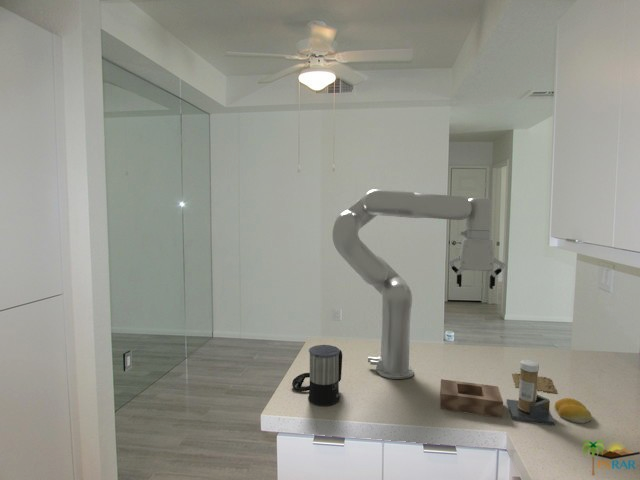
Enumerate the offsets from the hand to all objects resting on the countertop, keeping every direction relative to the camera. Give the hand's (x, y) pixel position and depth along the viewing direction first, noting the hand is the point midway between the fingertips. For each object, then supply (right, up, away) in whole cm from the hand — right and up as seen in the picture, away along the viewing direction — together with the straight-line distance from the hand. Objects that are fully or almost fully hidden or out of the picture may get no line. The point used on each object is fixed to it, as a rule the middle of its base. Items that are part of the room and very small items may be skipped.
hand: (475, 287), depth 134 cm
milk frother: (-53, -31, -12) cm, 62 cm away
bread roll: (+18, -33, -23) cm, 44 cm away
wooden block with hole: (-8, -32, -18) cm, 37 cm away
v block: (+6, -32, -22) cm, 40 cm away
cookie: (+18, -31, -3) cm, 36 cm away
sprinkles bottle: (+6, -31, -22) cm, 39 cm away
